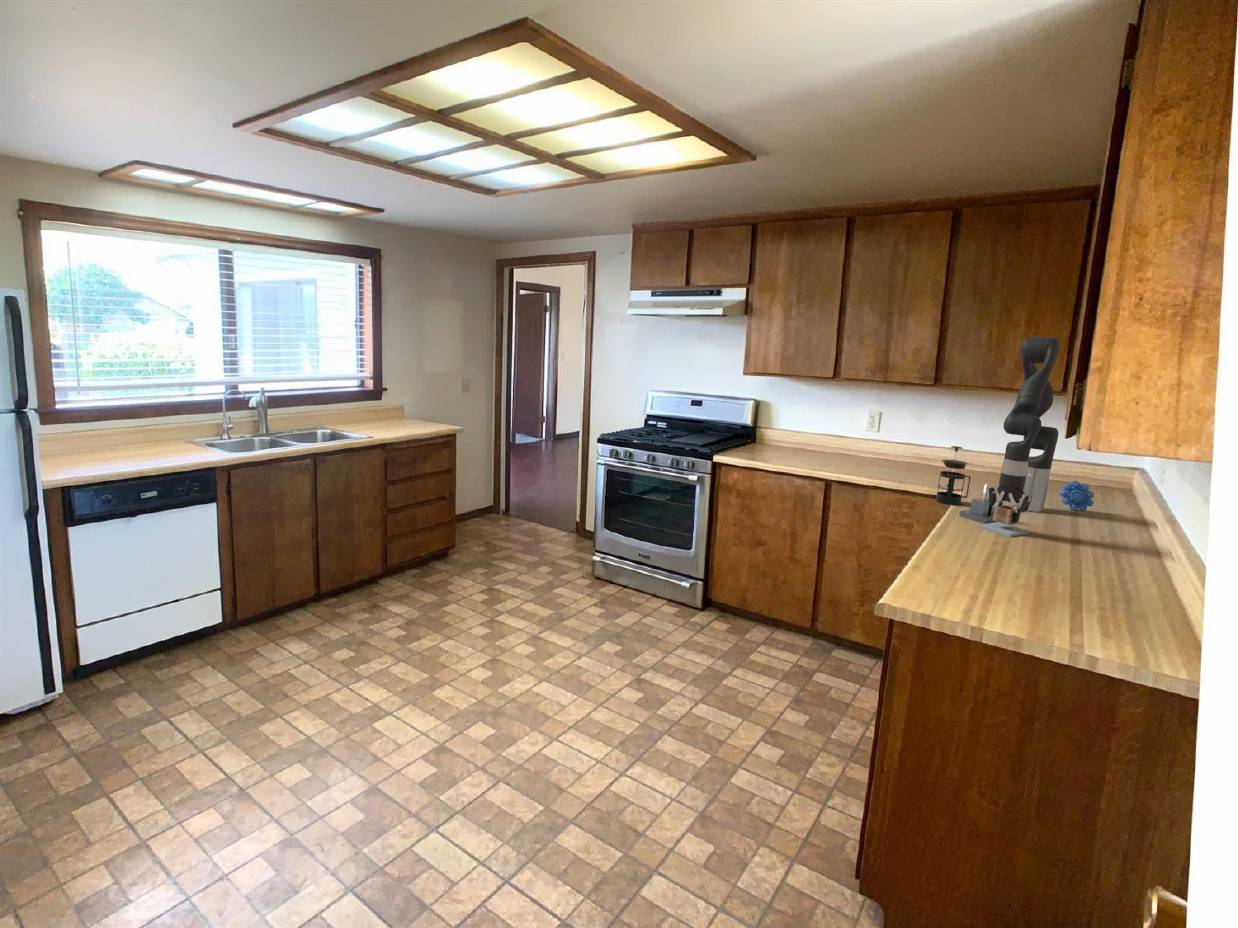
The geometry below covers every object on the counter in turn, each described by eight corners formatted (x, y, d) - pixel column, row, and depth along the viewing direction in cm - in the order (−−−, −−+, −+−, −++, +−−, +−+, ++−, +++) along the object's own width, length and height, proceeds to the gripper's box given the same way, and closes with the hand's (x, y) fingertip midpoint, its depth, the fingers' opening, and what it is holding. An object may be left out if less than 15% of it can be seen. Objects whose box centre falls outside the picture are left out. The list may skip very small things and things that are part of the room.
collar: (1001, 518, 225) (1004, 505, 224) (1017, 523, 220) (1020, 509, 219) (992, 520, 222) (994, 506, 221) (1008, 524, 217) (1010, 510, 216)
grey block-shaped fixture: (978, 513, 244) (984, 480, 241) (1004, 520, 235) (1010, 486, 232) (959, 516, 238) (964, 482, 235) (984, 523, 229) (990, 488, 227)
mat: (997, 524, 229) (998, 521, 229) (1028, 533, 219) (1029, 530, 219) (978, 527, 224) (979, 524, 224) (1009, 536, 214) (1010, 534, 214)
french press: (933, 502, 257) (942, 446, 252) (933, 497, 265) (941, 443, 260) (966, 507, 252) (975, 450, 247) (965, 502, 260) (974, 446, 255)
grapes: (1057, 510, 255) (1063, 480, 253) (1055, 506, 261) (1061, 477, 259) (1093, 515, 250) (1099, 485, 247) (1090, 511, 256) (1096, 482, 253)
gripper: (1041, 476, 213) (1032, 525, 216) (999, 467, 225) (991, 513, 229) (1028, 478, 210) (1019, 527, 213) (986, 469, 222) (978, 515, 225)
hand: (1005, 520), depth 221 cm, fingers closed on collar, 5 cm apart
